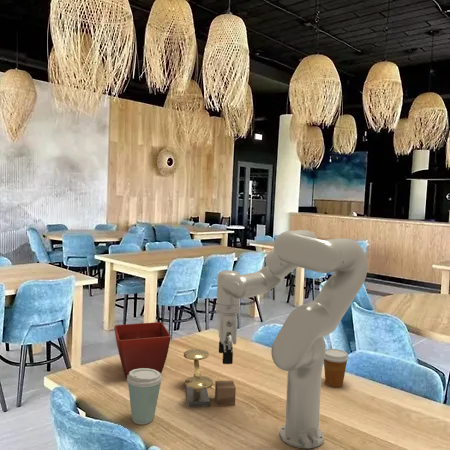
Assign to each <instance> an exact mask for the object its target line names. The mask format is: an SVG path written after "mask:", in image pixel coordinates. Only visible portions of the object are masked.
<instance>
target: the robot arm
mask: <svg viewBox="0 0 450 450" xmlns="http://www.w3.org/2000/svg"><path fill="white" fill-rule="evenodd" d="M264 258H265V266H264V267H262V268H261V269H260V270H258V271H256V272H250V273H245V274H243V273H242V274H240V272H239V271H236V270H231V269H230V270H227V269H226V270H221V271H219V272H218V274H217V283H216V284H217V285H216V286H217V288H216V306H215V312H216V314H217V315H218V338H219V342H218V353H219V354H222V365H232V364H233V361H234V360H233V358H234V348H233V345H234V346H235V345H236V344H237V327H238V326H237V323H238V322H237V315H238V314H239V313H240V311H239V309H240V300H243V299H249V298H252V297H257V296H258V297H259V296H261V295H264V294H266V293H268V292H269V291H271V290H273V289H274V288H275V287H277V286H278V285H280V284H281V283H282V281H283V280H284V279H285V277H286V276H288V275H289V274H290V273H292V272H293V271H294V270H295V269H297V268H301V269H306V270H308V271H313V272H316V273H320V274H329V273H332V274H331V276H330V277H329V278H328V279H327V280H326V281H325V283H324V284H323V285H322V287H321V290H320V292H319V293H318V294H317V296H316V297H315V298H314V300H312V301H310V302H307V303H304V304H301V305H299V306H297V307H295V308H294V309H293V310H292V311H291V312H290V313H289V314H288V316H287V317H286V319H285V320H284V323H283V324H282V326H281V327H280V330H279V331H278V332H277V335H276V337H275V339H274V340H273V342H272V346H271V351H270V353H271V359H272V361H273V363H274V365H275V366H276V367H277V368H278V369H279V370H282V371H284V372H287V377H286V378H287V381H286V400H285V404H286V405H285V424H284V425H282V426H281V427H280V429H279V437H280V438H281V440H282V441H283V442H284V443H285V444H288V445H289V446H291V447H294V448H298V449H308V450H309V449H314V448H317V447H319V446H321V445H323V443H324V439H325V436H324V432H323V431H322V430H321V429H320V428H319V427H320V410H321V408H320V406H321V390H322V389H321V388H322V374H323V373H322V372H323V368H324V367H323V366H324V357H325V351H326V347H327V346H326V341H325V338H324V337H326V336H328V335H330V334H332V333H333V332H335V330H336V329H337V327H338V326H339V324H340V322H341V321H342V319H343V317H344V316H345V314H346V312H347V311H348V310H349V309H350V306H351V304H352V303H353V301H354V299H355V298H356V296H357V295H358V293H359V292H360V290H361V289H362V287H363V285H364V283H365V281H366V278H367V274H368V258H367V255H366V253H365V251H364V248H362V246H361V245H360V244H359V243H358V242H356V241H355V240H353V239H350V238H344V237H343V238H338V237H337V238H330V239H319V238H318V237H317V236H316V234H315V233H313V232H312V231H310V230H304V229H297V230H296V229H295V230H288V231H287V230H285V231H284V232H281V233H280V234H278V235H277V237H276V238H275V240H274V242H273V249H272V250H270V251H269V252H267V253H266V255H265V257H264Z"/></svg>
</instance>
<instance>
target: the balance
mask: <svg viewBox="0 0 450 450" xmlns="http://www.w3.org/2000/svg"><path fill="white" fill-rule="evenodd" d="M183 357H184V358H185V359H187V360H192V361H193V366H194V373H193V376H190V377H187V378H186V379H185V383H184V385H185V392H186V399H187V401H186V402H187V407H188V408H193V407H198V408H200V407H211V406H210V405H211V402H210V401H211V400H210V397H209V392H208V388H212V386H213V383H214V382H213V379H212V378H210V377H208V376H204V375H202V374H201V372H200V371H201V370H200V369H201V368H200V363H199V361H201V360H205V359H208V357H209V352H208V351H207V350H204V349H200V348H199V349H198V348H196V349H187V350H185V351H183Z"/></svg>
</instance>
